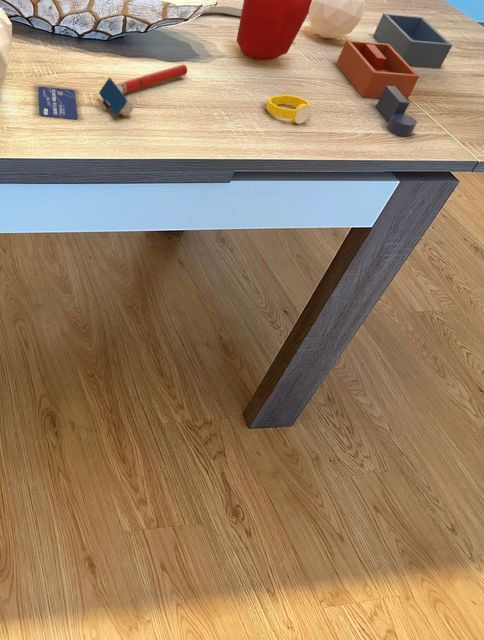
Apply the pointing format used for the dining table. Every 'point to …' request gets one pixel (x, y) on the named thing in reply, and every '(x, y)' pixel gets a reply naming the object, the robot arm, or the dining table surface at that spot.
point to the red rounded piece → (270, 26)
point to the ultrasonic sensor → (115, 99)
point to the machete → (226, 10)
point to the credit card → (57, 103)
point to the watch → (296, 114)
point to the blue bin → (413, 39)
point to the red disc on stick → (374, 57)
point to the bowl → (4, 43)
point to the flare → (152, 78)
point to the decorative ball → (335, 16)
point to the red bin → (375, 81)
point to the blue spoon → (396, 111)
